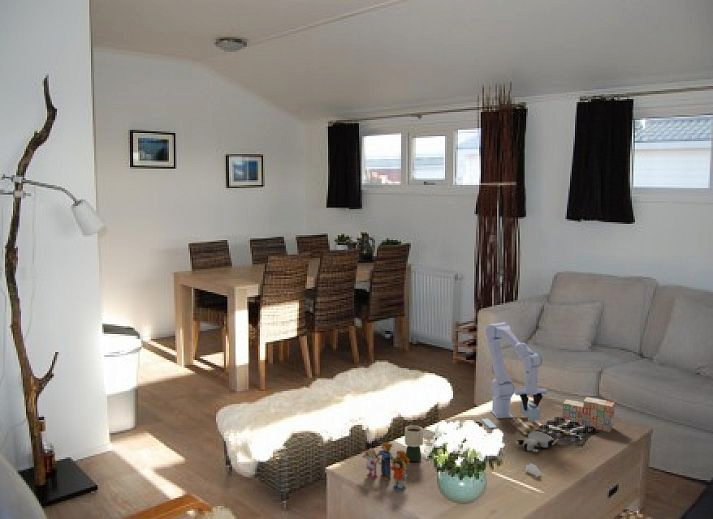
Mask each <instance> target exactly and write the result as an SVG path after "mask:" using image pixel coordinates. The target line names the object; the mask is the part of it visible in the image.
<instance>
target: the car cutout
mask: <svg viewBox="0 0 713 519" xmlns="http://www.w3.org/2000/svg"><path fill="white" fill-rule="evenodd" d="M524 473H525V474H526V473H527V474H528V473H529V474H531V475H534V476H535V478H538V477H541V470H540V469H539V468H538V466H537V465H536V464H533V463H529V464H526V465H525V472H524Z"/></svg>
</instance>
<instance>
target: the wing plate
mask: <svg viewBox="0 0 713 519" xmlns="http://www.w3.org/2000/svg"><path fill="white" fill-rule="evenodd" d="M480 422H481V423H483V424H484V425H485V426H486V427H487V426H488V427H489V428H493V429H494V428H496V429H498V426H497V425H495V423H493V421H491V420H490V419H489V418H481V419H480ZM488 427H487V428H488ZM489 428H488V429H489Z"/></svg>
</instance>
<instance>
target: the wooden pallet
mask: <svg viewBox="0 0 713 519" xmlns="http://www.w3.org/2000/svg"><path fill="white" fill-rule="evenodd" d="M509 423H510V424H511V425H512V426H513V427H514V428H515V429H516V430H517V431H518V432H519V433H520V434H521V435H522V436H523V437H528V434H530V433H531V432H532V431H533V430H534V431H535V430H536V428H537V427H539V426H541V425H543V424H542V423H541V422H540V421H531V420H530V419H529V418H527V417H526V416H525V415H523V416H514V419H511V420H509ZM534 431H533V432H534Z"/></svg>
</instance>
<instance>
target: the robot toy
mask: <svg viewBox="0 0 713 519" xmlns="http://www.w3.org/2000/svg"><path fill="white" fill-rule="evenodd" d="M533 431H534V430H533ZM533 431H532V432H531V433H530V434H528V436H527V438H526V439H518V440H516V441H514V444H515V445H519V446H523V450H527V451H531V452H535V453H538V452H539V451H540V448H549V447H552V446H554V444H555V443H557V441H559V439H558V438H556V440H554V439H553V438H554V437H553V436H552V435H550V436H549V435H547V434H545V433H543V432H539V431H534V432H533ZM551 436H552V437H553V438H552V437H551Z"/></svg>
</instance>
